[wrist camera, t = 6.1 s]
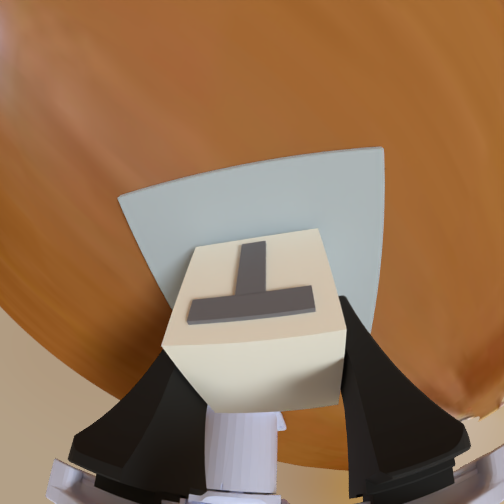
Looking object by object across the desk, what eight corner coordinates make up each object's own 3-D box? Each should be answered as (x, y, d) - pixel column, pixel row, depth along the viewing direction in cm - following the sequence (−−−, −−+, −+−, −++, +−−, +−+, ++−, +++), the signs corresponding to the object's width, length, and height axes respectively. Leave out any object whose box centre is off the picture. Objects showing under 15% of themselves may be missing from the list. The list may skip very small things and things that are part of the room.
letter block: (323, 314, 13) (338, 404, 9) (227, 325, 14) (215, 413, 10) (317, 224, 10) (346, 325, 6) (194, 243, 11) (158, 342, 7)
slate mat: (369, 329, 15) (370, 333, 15) (198, 349, 17) (197, 352, 17) (380, 146, 9) (383, 148, 9) (120, 195, 11) (117, 198, 10)
